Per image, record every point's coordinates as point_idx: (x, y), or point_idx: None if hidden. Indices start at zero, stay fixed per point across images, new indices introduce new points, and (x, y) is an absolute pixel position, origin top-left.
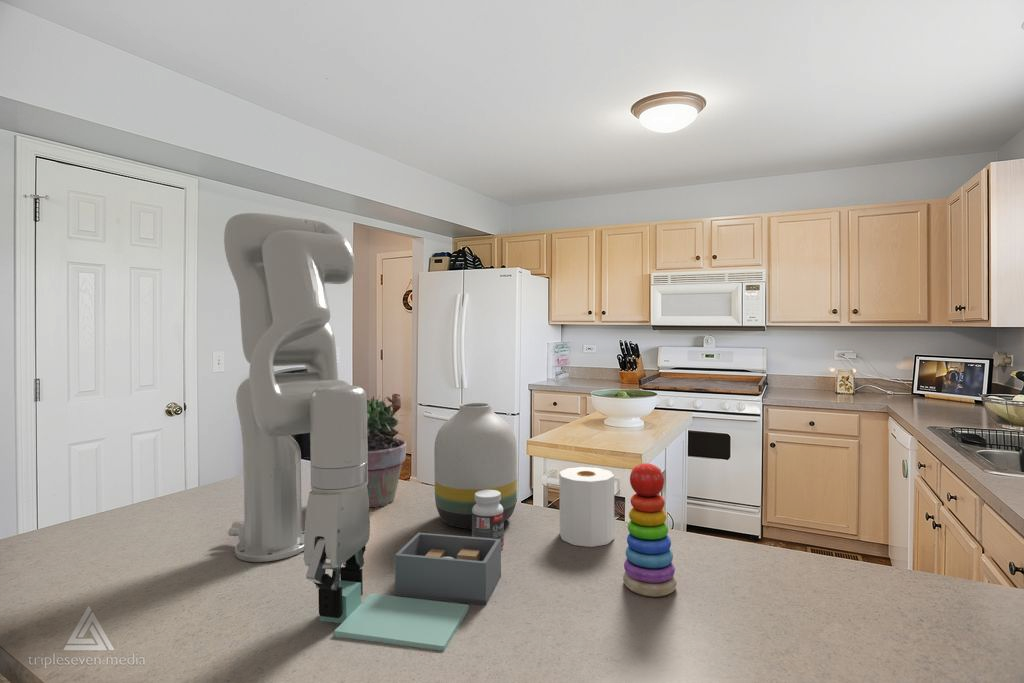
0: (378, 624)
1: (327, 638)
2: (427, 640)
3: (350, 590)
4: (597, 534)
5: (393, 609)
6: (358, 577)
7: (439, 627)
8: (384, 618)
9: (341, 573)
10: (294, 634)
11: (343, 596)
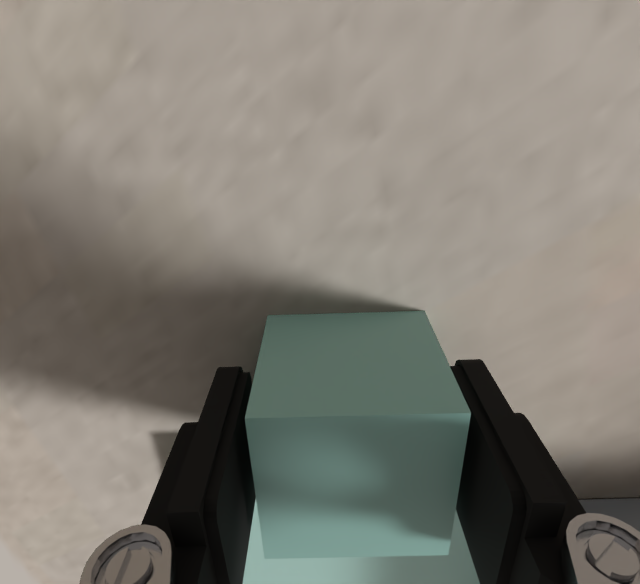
0: (276, 560)
1: (152, 422)
2: None
3: (337, 549)
4: None
5: (395, 562)
6: (474, 563)
7: None
8: (323, 560)
9: (501, 481)
10: (109, 273)
11: (264, 543)
